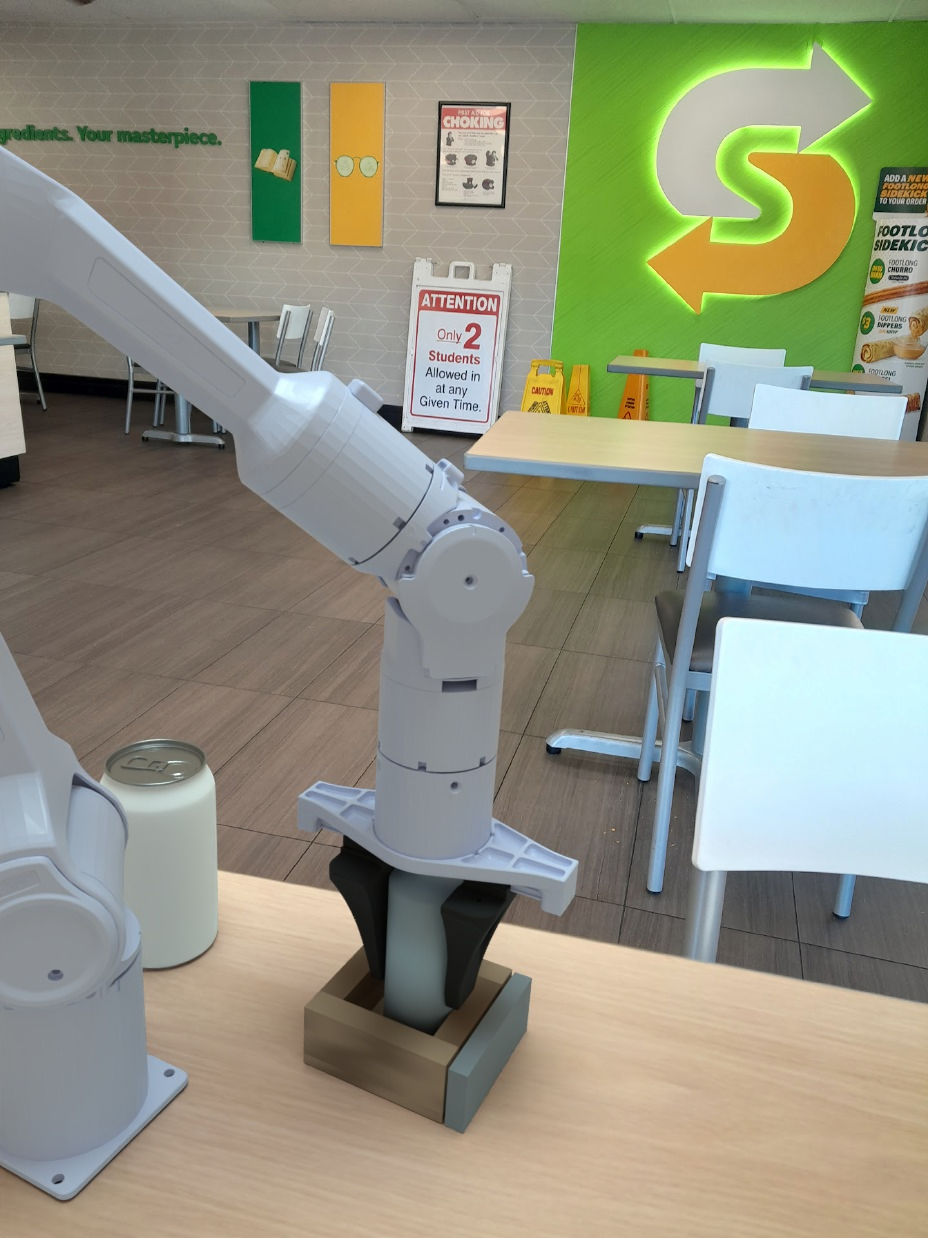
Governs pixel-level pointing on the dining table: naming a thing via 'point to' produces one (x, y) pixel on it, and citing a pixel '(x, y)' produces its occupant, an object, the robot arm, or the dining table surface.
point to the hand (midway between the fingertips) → (422, 982)
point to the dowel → (416, 950)
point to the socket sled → (391, 1037)
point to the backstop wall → (487, 1053)
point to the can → (168, 846)
